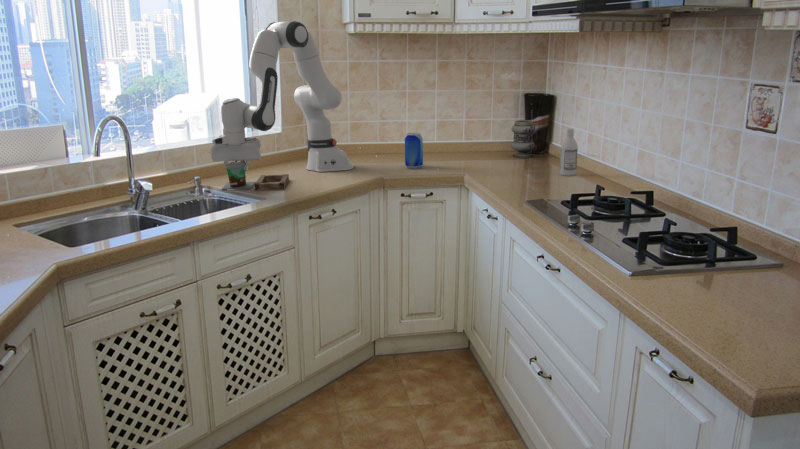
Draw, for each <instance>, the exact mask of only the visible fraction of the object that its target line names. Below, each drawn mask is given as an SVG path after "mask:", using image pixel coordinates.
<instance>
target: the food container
mask: <svg viewBox="0 0 800 449" xmlns="http://www.w3.org/2000/svg"><path fill="white" fill-rule="evenodd" d="M246 165H247V163H246V161H231V162H230V163H227V164H226V166H225V167H226V168H225V169H226V171H227V175H228V181H229V182H230V187H236V186H241V185H244V184H246V182H247V179H246V177H247V176H246V171H244V167H245V166H246Z"/></svg>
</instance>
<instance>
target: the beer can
mask: <svg viewBox="0 0 800 449" xmlns="http://www.w3.org/2000/svg"><path fill="white" fill-rule="evenodd" d="M423 142H424V140H423V137H422V134H421V132H408V133H407V132H406V136H405V137H404V165H405V167H406V169H410V170H411V169H413V170H416V169H422V166H423V165H424V148H423V147H424V145H423V144H424V143H423Z"/></svg>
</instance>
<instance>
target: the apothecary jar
mask: <svg viewBox="0 0 800 449" xmlns="http://www.w3.org/2000/svg"><path fill="white" fill-rule="evenodd" d="M511 131H512V132H513V141H512V142H511V144H510V147H511V149H512V150H513V151H516V152H517V153H515V154H513V155H512V156H513V158H516V159H517V158H518V159H530V158H532V157H533V155H532V154H531V153H529V151H532V150H534V149H535V147H536V143H535V141H534V136H533V134H534V132H535V131H536V126H535V125H533V121H532V120H529V119H519V120H515V121H514V124H513V125H512V127H511Z"/></svg>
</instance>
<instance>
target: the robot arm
mask: <svg viewBox="0 0 800 449" xmlns="http://www.w3.org/2000/svg"><path fill="white" fill-rule="evenodd" d="M315 42H316V41H315V40H314V38H313V36H312V34H311V33H310V32H309V31H308V29H307V27H306V25H305V24H304V23H302V22H299V21H295V20H294V21H291V20H283V21H278V22H277V21H274V22H270V23H268V24H266V26H265V27H264V29H262V30H260V31H259V32H258V33H257V35H256V37H255V39H254V42H253V45H252V49H251V52H250V57H249V61H248V62H249V63H248V64H249V69H250V71H251V72H252V74H253V75H254V76H256V77H257V78H258V79H259V80H260V83H261V92H260V100H259V101H260V102H259V104H258V105H254V104H249V103H247V102H245V101H242V100H241V99H240V98H238V97H236V98H235V97H232V98H228V99H225V100H224V101H222V102H221V107H220V114H221V116H220V118H221V123H222V125H223V127H222V128H223V129H222V134H221V135H219V136H216V137H214V138H213V139H212V144H213V145H212V146H211V150H210V158H211V161H212V162H215V163H216V162H217V163H218V162H223V165H224V166H225V167H226V164H229V162H235V161H245V163H246V165H245V167H244V171H245V172H248V171H249V168H248V167H249V165H250V163H251V161H259V160H260V159H261V158H262V152H261V141H260V139H258V138H256V137H253V138H252V137H246V130H245V129H246V128H247V129H248V128H249V129H252V130H253V129H254V130H256V131H257V130H258V131H260V132H267V131H269V130H271V129H272V128H273V127H274V125H275V123H276V109H275V108H276V101H277V100H276V99H277V89H278V78H279V77H278V73H277V64H278V58H279V51H280V50H281V49H288V48H290V49H291V50H292V55H293V59H294V64H295V66H296V70H297V72H298V76H299V77H300V78H301V80H303V81H305V83H306V84H304V85H300V86H298V87H296V89H295V91H294V93H293V100H294V103H295V104H296V105H297V106H298V107H299V108H300V110H301V111H302V113H303V116H304V118H305V121H306V128H307V141H306V146H307V147H306V148H307V151H308V152H307V153H308V154H307V155H308V157H307V164H306V170H308V171H311V172H319V173H324V172H325V173H326V172H337V171H338V172H339V171H350V170H353V169H354V166H355V165H354V163H352V162H350V160H349V156H348V154H347V153H346V152H345V151H344V150H342V149H341V148H339V147H338V146H337V139H336V138H332V123H331V121H330V119H329V118H328V117H327V116H326V115H325V113H324V111H323V110H326V111H328V110H334V109H337V108H339V106H340V105H341V103H342V97H343V96H342V92H341V91H340V90H339V88H338V87H336V86H335V85H334V84H333V83H332V82H331V81H330V79H329V78H328V77H327V74H326V73H325V71H324V68H323V65H322V63H321V62H322V61H321V58H320V55H319V52H318V47H317V45H316V43H315Z"/></svg>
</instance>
